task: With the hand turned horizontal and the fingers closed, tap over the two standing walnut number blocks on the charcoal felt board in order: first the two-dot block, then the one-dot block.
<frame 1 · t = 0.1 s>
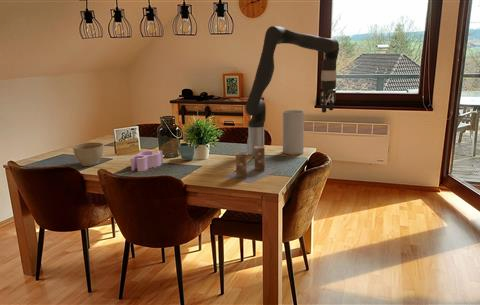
hand: (327, 111, 204), 29 cm above the table, tool pointing down, fingers open, 8 cm apart
cylinder vase: (293, 152, 240), on the table
clip: (146, 166, 218), on the table
planter bowl: (90, 164, 224), on the table
two dot tile: (259, 169, 204), point 1 cm above the table, touching felt board
flower pot: (187, 159, 230), on the table
one dot tile: (241, 177, 193), point 1 cm above the table, touching felt board
felt board: (251, 174, 198), on the table
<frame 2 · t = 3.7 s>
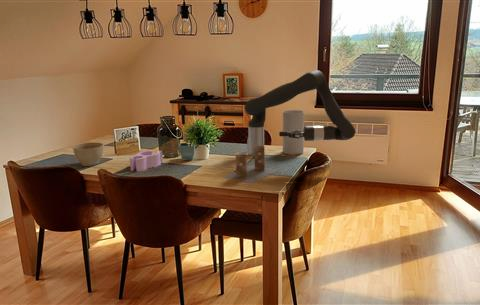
hand: (279, 134, 199), 19 cm above the table, tool horizontal, fingers closed
nothing on the table moved.
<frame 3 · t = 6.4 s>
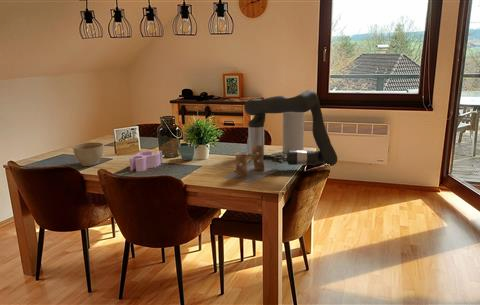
hand: (263, 157, 201), 7 cm above the table, tool horizontal, fingers closed
two dot tile: (259, 169, 204), point 1 cm above the table, tilted 6°, touching felt board, gripper
everything else where it was.
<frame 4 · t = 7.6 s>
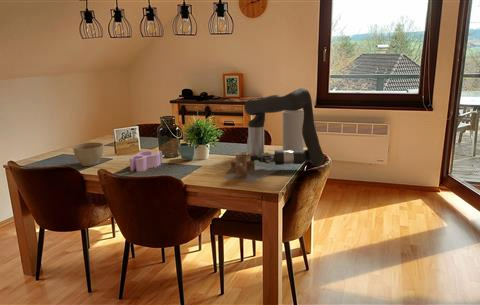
hand: (250, 157, 202), 7 cm above the table, tool horizontal, fingers closed
two dot tile: (254, 165, 203), point 3 cm above the table, tilted 90°, touching felt board
everything else where it was.
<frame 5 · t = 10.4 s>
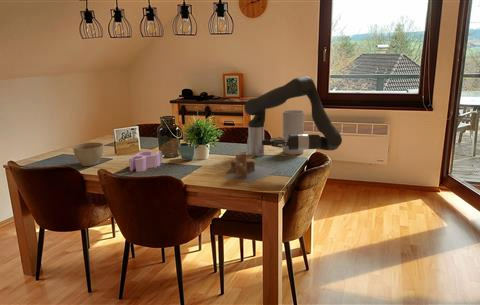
hand: (262, 142, 188), 18 cm above the table, tool horizontal, fingers closed
nothing on the table moved.
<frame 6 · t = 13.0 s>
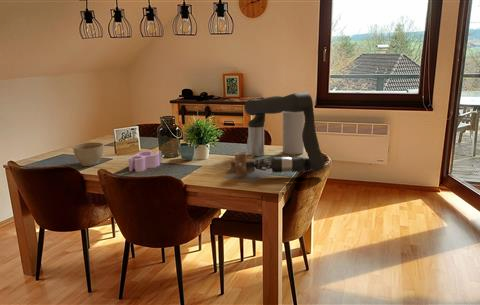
hand: (246, 164, 190), 7 cm above the table, tool horizontal, fingers closed
one dot tile: (241, 176, 193), point 1 cm above the table, touching felt board, gripper
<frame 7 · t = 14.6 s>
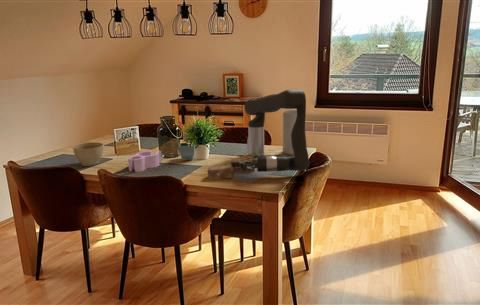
hand: (231, 164, 191), 7 cm above the table, tool horizontal, fingers closed
one dot tile: (233, 171, 192), point 4 cm above the table, tilted 95°, touching felt board, gripper
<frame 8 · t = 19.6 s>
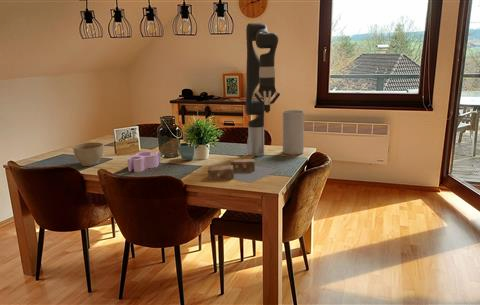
hand: (267, 112, 192), 31 cm above the table, tool pointing down, fingers closed
one dot tile: (233, 171, 192), point 3 cm above the table, tilted 93°, touching felt board
at the end: two dot tile tilted 90°; one dot tile tilted 93°; the gripper is holding nothing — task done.
